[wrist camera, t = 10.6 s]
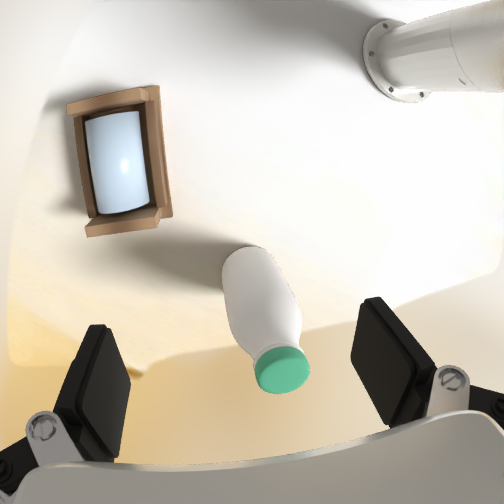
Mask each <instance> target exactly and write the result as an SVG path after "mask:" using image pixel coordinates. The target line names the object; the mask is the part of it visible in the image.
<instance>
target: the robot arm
mask: <svg viewBox="0 0 504 504" xmlns="http://www.w3.org/2000/svg"><path fill="white" fill-rule="evenodd" d="M363 57H364V61H365V65H366V68H367V71H368V73H369V75H370V77H371V78H372V80H373V82H374V83H375V84H376V85H377V87H378V88H379V89H380V90H381V91H382V92H383V93H384V94H386V95H387V96H389V97H390V98H392V99H394V100H396V101H399V102H403V103H415V102H419V101H422V100H423V99H425V98H426V97H428V95H429V94H430V93H431V92H432V91H468V92H494V93H500V92H504V0H490V1H486V2H483V3H479V4H475V5H471V6H467V7H463V8H459V9H455V10H451V11H447V12H444V13H440V14H437V15H434V16H430V17H427V18H424V19H421V20H418V21H415V22H412V23H409V24H406V23H404V22H401V21H397V20H386V21H382V22H380V23H378V24H376V25H374V26H373V27H372V28H371V29H370V30H369V31H368V33H367V34H366V37H365V40H364V45H363ZM351 362H352V364H353V366H354V368H355V370H356V371H357V373H358V375H359V377H360V379H361V381H362V383H363V385H364V387H365V389H366V390H367V392H368V394H369V396H370V398H371V400H372V402H373V404H374V406H375V407H376V409H377V411H378V413H379V415H380V417H381V419H382V421H383V423H384V424H385V425H389V427H390V429H388V430H385V431H382V432H378V433H375V434H372V435H368V436H365V437H362V438H358V439H355V440H351V441H347V442H344V443H339V444H335V445H331V446H327V447H322V448H318V449H313V450H308V451H303V452H298V453H293V454H287V455H282V456H275V457H269V458H261V459H253V460H245V461H235V462H224V463H209V464H189V465H188V464H186V465H153V464H124V463H114V458H117V457H118V456H119V451H120V444H121V437H122V431H123V425H124V419H125V414H126V408H127V402H128V397H129V392H130V386H131V382H130V378H129V375H128V373H127V370H126V368H125V365H124V363H123V360H122V358H121V355H120V352H119V350H118V347H117V344H116V342H115V339H114V336H113V333H112V331H111V329H110V328H107V327H106V325H104V324H100V325H90V326H89V328H88V330H87V332H86V334H85V337H84V339H83V341H82V343H81V346H80V348H79V350H78V352H77V355H76V357H75V359H74V360H73V361H72V363H71V365H70V368H69V371H68V373H67V375H66V378H65V380H64V383H63V385H62V388H61V390H60V394H59V396H58V399H57V401H56V404H55V407H54V409H53V412H50V411H41V412H38V413H36V414H35V415H33V416H32V417H31V418H30V419H29V421H28V423H27V425H26V430H25V431H26V437H24V438H23V439H21V440H19V441H18V442H16V443H14V444H12V445H11V446H9V447H7V448H6V449H4V450H2V451H0V504H504V394H502V393H498V392H494V391H491V390H487V389H483V388H480V387H476V386H473V385H470V380H469V377H468V375H467V374H466V373H465V372H464V370H462V369H461V368H459V367H456V366H452V365H446V366H442V367H440V368H439V369H438V368H437V367H436V366H435V363H434V362H433V361H432V359H431V358H430V357H429V356H428V354H427V353H426V352H425V350H424V349H423V348H422V346H421V345H420V344H419V343H418V342H417V340H416V339H415V338H414V337H413V335H412V334H411V333H410V332H409V330H408V329H407V328H406V327H405V326H404V325H403V323H402V322H401V321H400V320H399V318H398V317H397V316H396V315H395V314H394V312H393V311H392V310H391V309H390V308H389V306H388V305H387V304H386V303H385V302H384V301H383V299H382V298H381V297H374V298H368V299H365V301H364V303H362V304H361V305H360V310H359V315H358V321H357V326H356V331H355V336H354V341H353V347H352V351H351Z"/></svg>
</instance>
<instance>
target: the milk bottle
mask: <svg viewBox="0 0 504 504" xmlns="http://www.w3.org/2000/svg"><path fill="white" fill-rule="evenodd" d="M222 285H223V292H224V298H225V305H226V311H227V316H228V321H229V325H230V329H231V332H232V334H233V336H234V338H235V340H236V342H237V343H238V344H239V346H240V347H241V348H242V349H243V350H244V351H245V352H246V353H248V354H249V355H250V356H251V357H252V358H253V360H254V363H253V367H254V370H255V376H256V380H257V382H258V385H259V386H260V388H261V389H263V390H264V391H266V392H269V393H273V394H281V393H287V392H290V391H293V390H295V389H297V388H298V387H300V386H301V385H302V384H303V383H304V382H305V381H306V380H307V378H308V376H309V373H310V367H309V363H308V361H307V359H306V357H305V355H304V352H303V350H302V349H301V347H299V337H300V333H301V327H302V319H301V312H300V309H299V305H298V303H297V301H296V298H295V296H294V294H293V292H292V290H291V288H290V286H289V284H288V282H287V280H286V278H285V276H284V274H283V272H282V271H281V269H280V267H279V265H278V263H277V261H276V260H275V258H274V257H273V255H272V254H271V253H269V252H268V251H267V250H265V249H262V248H259V247H244V248H241V249H238V250H236V251H235V252H233V253H232V254H231V255H230V256H229V257H228V258H227V259H226V261H225V262H224V264H223V267H222Z"/></svg>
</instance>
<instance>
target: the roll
mask: <svg viewBox="0 0 504 504" xmlns="http://www.w3.org/2000/svg"><path fill="white" fill-rule="evenodd" d="M85 127H86V136H87V144H88V152H89V159H90V166H91V173H92V179H93V185H94V191H95V196H96V201H97V207H98V212H99V213H102V214H110V213H118V212H123V211H128V210H131V209H135V208H138V207H140V206H143V205H145V204H147V203H148V202H149V201H150V200H149V193H148V187H147V180H146V172H145V165H144V157H143V148H142V139H141V130H140V120H139V112H138V111H134V112H124V113H115V114H110V115H105V116H102V117H98V118H95V119H91V120H88V121H86V122H85Z"/></svg>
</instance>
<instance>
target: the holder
mask: <svg viewBox="0 0 504 504" xmlns="http://www.w3.org/2000/svg"><path fill="white" fill-rule="evenodd" d="M66 106H67V116H77V117H74V125H75V135H76V144H77V152H78V159H79V166H80V172H81V179H82V185H83V190H84V196H85V201H86V206H87V211H88V216H89V218H93V219H92V220H91V221H90V222H89V223H88V224H87V225H86V226H85V231H86V235H87V238H88V237H95V236H101V235H108V234H115V233H122V232H130V231H137V230H144V229H152V228H157V226H158V223H159V221H160V219H162V218H170V217H173V211H172V204H171V197H170V189H169V181H168V173H167V164H166V155H165V146H164V136H163V125H162V113H161V100H160V86H151V87H145V88H141V87H138V88H133V89H128V90H123V91H118V92H114V93H109V94H105V95H100V96H96V97H92V98H88V99H84V100H81V101H77V102H73V103H70V104H66ZM134 111H138V112H139V120H140V130H141V139H142V148H143V157H144V165H145V172H146V180H147V187H148V193H149V200H150V201H149V202H148V203H147V204H145V205H143V206H140V207H138V208H135V209H131V210H128V211H123V212H118V213H110V214H102V213H99V212H98V207H97V201H96V196H95V191H94V185H93V179H92V173H91V166H90V159H89V152H88V144H87V136H86V127H85V122H86V121H88V120H91V119H95V118H98V117H102V116H105V115H110V114H115V113H124V112H134Z"/></svg>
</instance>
